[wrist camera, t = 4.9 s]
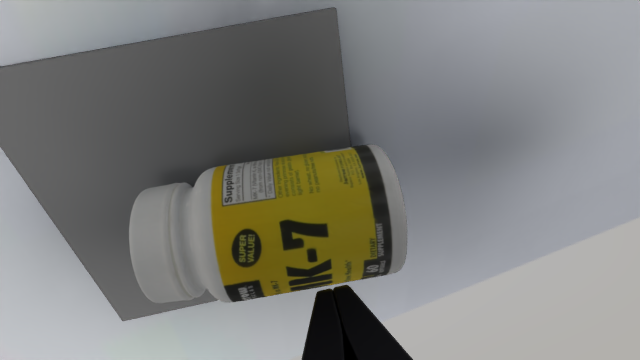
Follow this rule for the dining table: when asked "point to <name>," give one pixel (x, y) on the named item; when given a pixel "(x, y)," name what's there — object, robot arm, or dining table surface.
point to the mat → (165, 126)
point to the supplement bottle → (270, 227)
